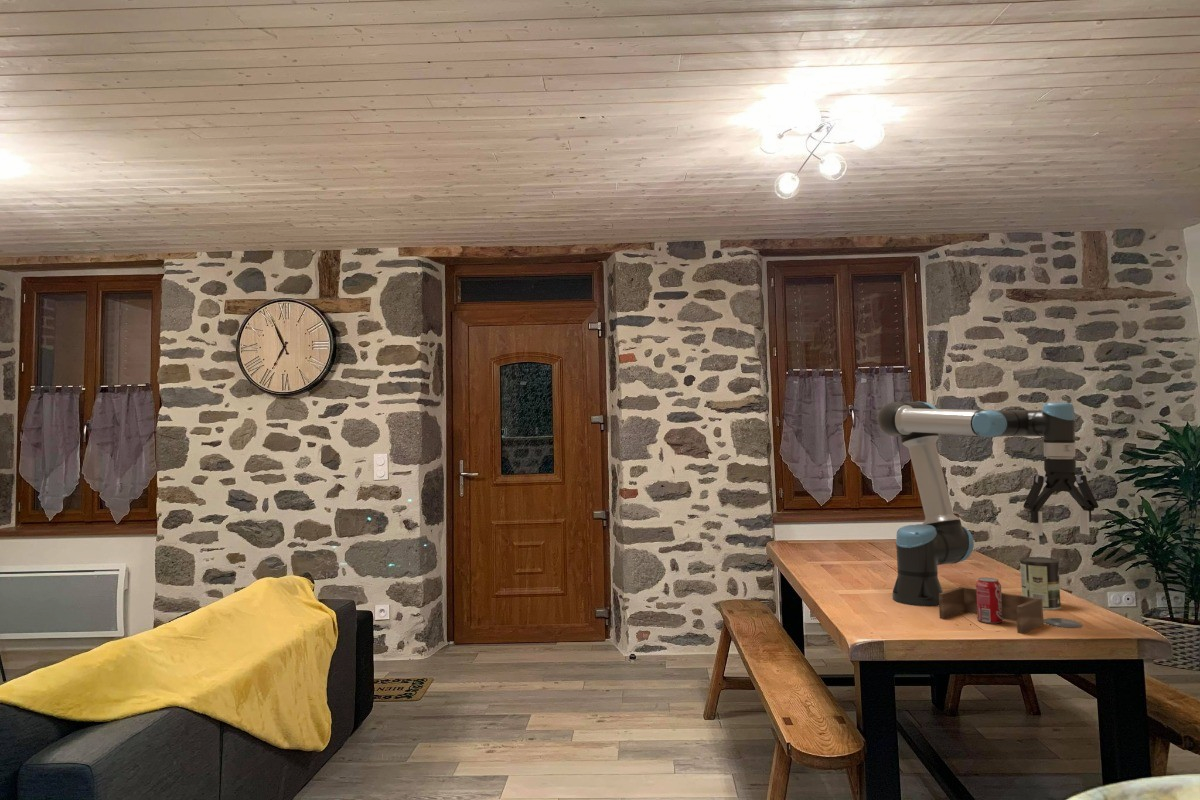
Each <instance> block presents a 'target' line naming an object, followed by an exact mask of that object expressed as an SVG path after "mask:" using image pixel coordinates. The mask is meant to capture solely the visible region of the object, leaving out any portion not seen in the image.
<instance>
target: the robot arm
mask: <svg viewBox="0 0 1200 800" xmlns="http://www.w3.org/2000/svg"><path fill="white" fill-rule="evenodd" d="M1075 416H1076V415H1075V408H1074V405H1073V404H1072V403H1070V402H1045V403H1043V405H1042V409H1039V410H1037V409H1036V410H1034V409H1033V410H1032V409H1031V410H1028V409H1027V410H1025V409H1023V410H1022V409H1021V410H1020V409H1013V410H1012V409H1011V410H1000V409H999V410H995V409H994V410H993V409H992V410H991V409H981V410H980V409H956V408H955V409H953V408H951V409H950V408H949V409H948V408H946V409H945V408H937V407H936V406H935V405H933V404H931V403H929V402H925V401H919V400H918V401H892V402H889V403H886V404H885V405H883V407H881V409H880V410H879V412H878V414H877V424H878V426H879V428H880V430H881V431H882V432H883V433H885V434H886V435H888V436H891V437H900V439H901V445H903V446H904V447H906V448H907V449H908V452H909V456H910V460H911V465H912V469H913V472H914V476H915V480H916V484H917V485H916V486H917V488H918V494H919V497H920V502H921V505H922V511H923V514H924V520H923V522H922V523H921V524H920V523H919V524H909V525H905V526H902V527H899V528H898V529H897V530H896V539H895V544H896V565H897V576H896V579H895V583H894V586H893V590H892V593H891V594H892V600H893V601H894V602H896V603H899V604H901V605H902V604H903V605H908V606H913V607H937V606H938V605H939V593H943V592H944V590H943V587H942V585H941V583H940V581H939V577H938V573H939V572H938V566H943V565H948V564H949V565H952V564H958V563H960V562H964V561H966V560H967V559H968V558H970V556H971V554H972V553H973V550H974V547H975V544H974V543H975V541H974V537H973V535H972V533H971V531H970V530H968V529H967V527H965V526H963V525H962V521H961V518H959V517H958V516H957V515H955V514H954V511H953V507H952V504H951V503H952V502H951V499H950V495H949V491H948V487H947V483H946V480H945V476H944V471H943V468H942V464H941V460H940V457H939V456H940V455H939V452H938V449H937V444H936V443H937V442H938V439H940V436H939V434H942V435H958V436H959V435H963V436H976V437H977V436H978V437H985V438H1000V437H1001V438H1002V437H1007V438H1009V437H1043V457H1046V458H1044V459H1043V469H1044V472H1045V474H1044V476H1043V475H1036V474H1035V475H1034V476H1033V483H1032V485H1031V487H1030V490H1029V492H1028V495H1027V496H1026V499H1025V501H1024V504H1023V508H1024V509H1026V510H1027V511H1030V522H1031V523H1033V525H1032V526H1033V535H1036V536H1042V537H1043V535H1044V534H1043V532H1044V531H1043V511H1040V510H1041V509H1042V508H1043V506H1044V505H1045V504H1046V502H1047V500H1049V498H1050V497H1051V496H1052V495H1053V494H1054V493H1055V492H1056V493H1057V492H1059V493H1060V492H1067V493H1069V495H1071V497H1072V498H1073V499H1074V500H1075V502H1076V503H1077V504H1078V505H1079V506H1080V508H1081V509H1078V510H1079V534H1082V535H1086V536H1087V535H1088V536H1089V535H1090V523H1091V522H1092V512H1094V511H1095V509H1098V508H1099V504H1098V502H1097V500H1096V498H1095V496H1094V494H1093V492H1092V489H1091V488H1090V485H1089V484H1088V479H1087V475H1085V474H1075V473H1076V472H1077V462H1076V459H1075V457H1076V435H1075V434H1076V429H1075V428H1076V427H1075V426H1076V425H1075V424H1076V417H1075ZM1044 483H1046V484H1045V486H1043V485H1044ZM1075 483H1076V484H1077V486H1078V487H1077V486H1076V485H1075ZM1079 490H1080V491H1079ZM938 607H939V606H938Z"/></svg>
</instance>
